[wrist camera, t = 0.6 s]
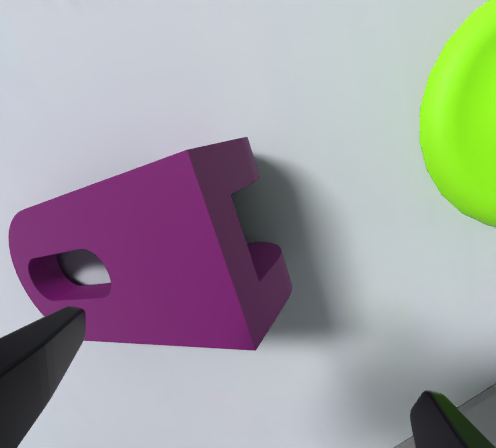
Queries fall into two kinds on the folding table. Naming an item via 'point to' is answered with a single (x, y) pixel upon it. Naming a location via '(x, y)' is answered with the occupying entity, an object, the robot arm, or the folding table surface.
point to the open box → (475, 416)
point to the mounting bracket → (159, 254)
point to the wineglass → (464, 117)
